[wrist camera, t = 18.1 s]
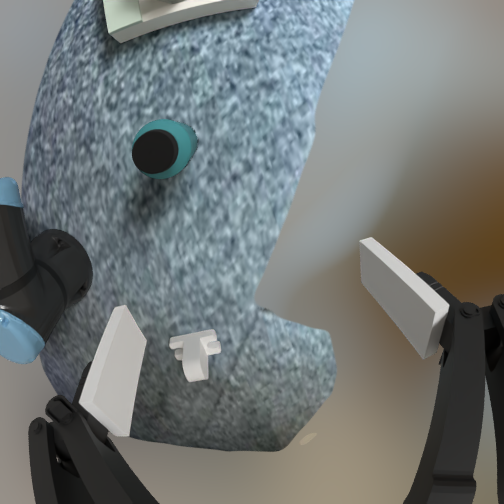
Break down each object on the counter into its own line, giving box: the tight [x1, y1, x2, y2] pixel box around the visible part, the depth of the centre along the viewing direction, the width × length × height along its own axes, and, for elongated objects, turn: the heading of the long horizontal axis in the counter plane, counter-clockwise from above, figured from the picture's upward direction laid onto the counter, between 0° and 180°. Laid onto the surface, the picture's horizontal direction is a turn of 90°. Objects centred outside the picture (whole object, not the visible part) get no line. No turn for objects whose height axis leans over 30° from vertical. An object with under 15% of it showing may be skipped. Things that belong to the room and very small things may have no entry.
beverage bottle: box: [132, 119, 198, 179], centre depth 30 cm, size 6×7×20 cm
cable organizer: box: [169, 329, 221, 382], centre depth 52 cm, size 5×10×10 cm, turn 102°
